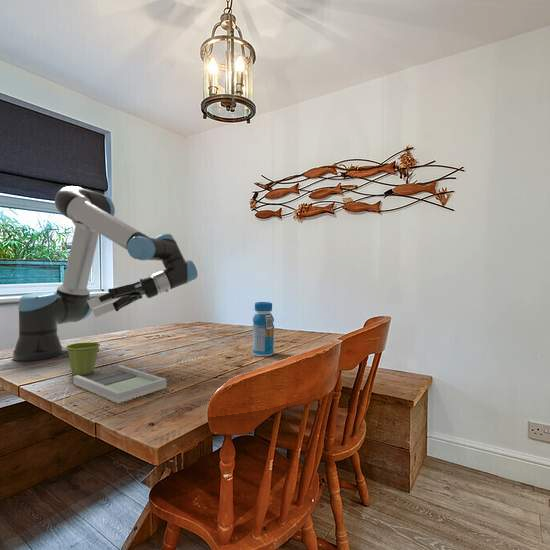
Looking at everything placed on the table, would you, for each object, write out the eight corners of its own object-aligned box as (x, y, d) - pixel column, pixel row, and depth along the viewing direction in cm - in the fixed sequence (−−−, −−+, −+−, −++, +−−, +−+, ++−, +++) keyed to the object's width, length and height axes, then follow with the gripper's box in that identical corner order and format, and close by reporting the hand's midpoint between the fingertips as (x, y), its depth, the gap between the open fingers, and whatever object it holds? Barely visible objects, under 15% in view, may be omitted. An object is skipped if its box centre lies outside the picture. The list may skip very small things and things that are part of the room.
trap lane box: (73, 384, 96) (73, 376, 96) (120, 372, 108) (120, 364, 108) (118, 403, 83) (118, 393, 83) (166, 387, 94) (166, 379, 94)
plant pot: (92, 366, 114) (92, 340, 114) (105, 372, 108) (105, 344, 108) (60, 373, 107) (60, 345, 106) (72, 379, 101) (72, 350, 100)
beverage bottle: (251, 356, 128) (251, 303, 128) (252, 351, 137) (253, 301, 137) (273, 357, 128) (274, 303, 128) (274, 351, 137) (274, 301, 136)
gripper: (160, 284, 110) (91, 311, 100) (157, 302, 132) (100, 326, 122) (151, 263, 110) (80, 289, 101) (149, 285, 133) (91, 307, 123)
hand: (91, 309), depth 112 cm, fingers open, 13 cm apart
